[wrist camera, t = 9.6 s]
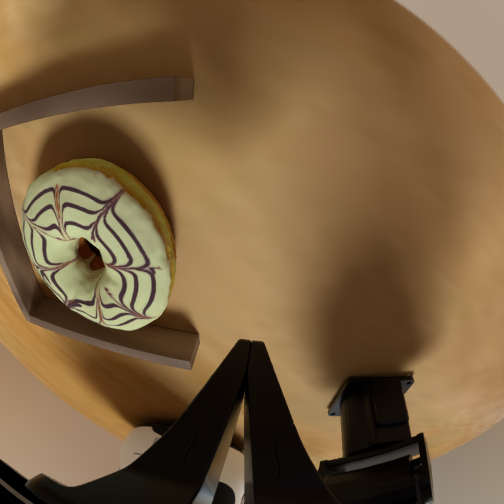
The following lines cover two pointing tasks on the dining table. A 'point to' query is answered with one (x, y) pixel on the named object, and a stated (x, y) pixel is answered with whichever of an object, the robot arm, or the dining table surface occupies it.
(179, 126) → the dining table surface
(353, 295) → the dining table surface
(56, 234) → the decorated donut
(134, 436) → the milk container
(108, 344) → the u-shaped brown rail
